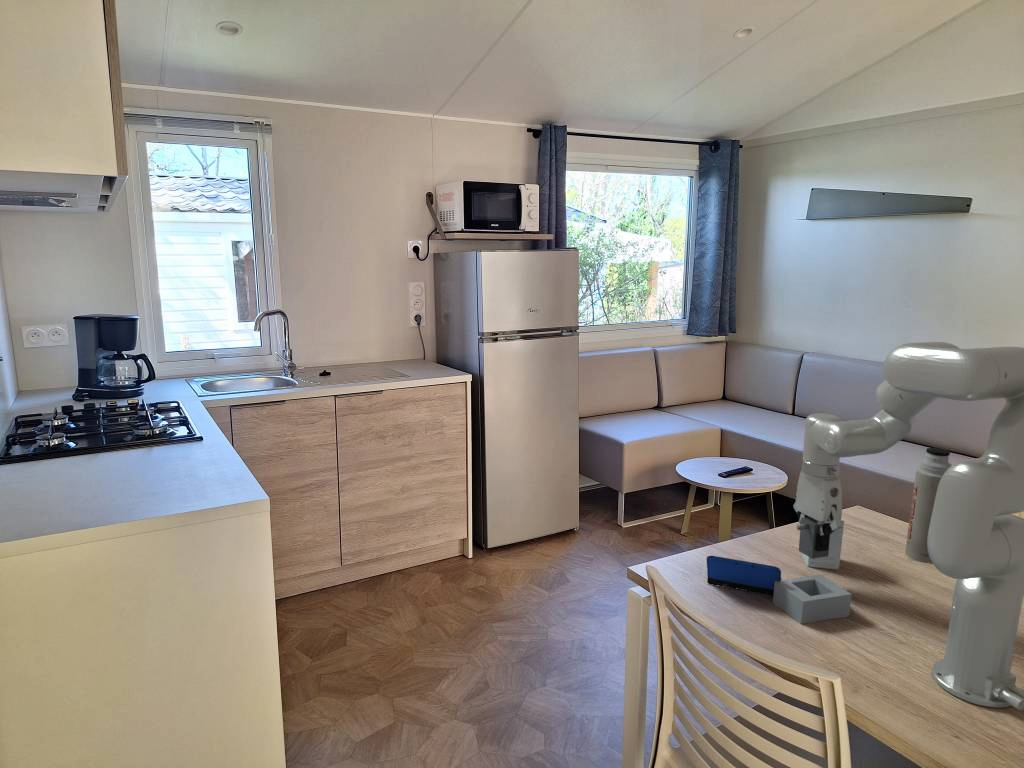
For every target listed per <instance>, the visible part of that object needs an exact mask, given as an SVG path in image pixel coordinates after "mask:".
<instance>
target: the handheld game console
mask: <svg viewBox="0 0 1024 768" xmlns="http://www.w3.org/2000/svg"><path fill="white" fill-rule="evenodd" d="M706 569H707V570H706V572H707V573H706V574H707V575H706V576H707V580H706V581H707V584H708V583H709V584H708V585H710V584H713V585H712V586H716V585H719V586H718V587H721V586H724V587H723V588H727V587H729V588H728V589H732V588H733V589H732V590H741V589H743V591H745V590H746V591H745V592H749V593H753V594H758V595H764V596H767V597H771V596H772V597H773V595H774V585H775V581H780V580H782V575H781V574H782V571H781V569H780V568H779V567H778V566H775V565H768V564H765V563H763V564H762V563H758V562H751V561H745V560H740V559H735V558H728V557H723V556H717V555H708V556H707V557H706ZM736 588H738V589H736Z"/></svg>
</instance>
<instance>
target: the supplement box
mask: <svg viewBox="0 0 1024 768" xmlns="http://www.w3.org/2000/svg"><path fill="white" fill-rule="evenodd" d="M840 523H841V526H842V527H841V528H840V529H837V530H835V531H834V532H833V533H832V534H830V541H829V553H828V556H827V557H820V558H813V559H812V558H810V557H808V556H807V555H805V554H803V553H801V552H800V553H801V554H800V555H801V556H802V558H803V560H804V563H805V564H806V566H807V567H809V568H810V567H811V568H819V569H828V570H829V569H830V570H831V569H832V570H839V569H840V565H841V564H840V562H841V561H840V560H841V554H842V543H843V534H844V526H845V519H843V516H842V517H841V520H840Z"/></svg>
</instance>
